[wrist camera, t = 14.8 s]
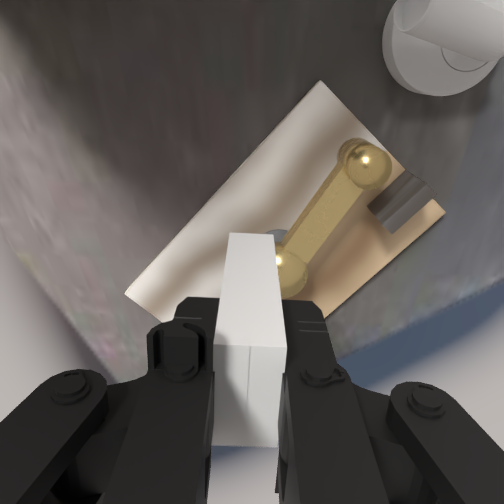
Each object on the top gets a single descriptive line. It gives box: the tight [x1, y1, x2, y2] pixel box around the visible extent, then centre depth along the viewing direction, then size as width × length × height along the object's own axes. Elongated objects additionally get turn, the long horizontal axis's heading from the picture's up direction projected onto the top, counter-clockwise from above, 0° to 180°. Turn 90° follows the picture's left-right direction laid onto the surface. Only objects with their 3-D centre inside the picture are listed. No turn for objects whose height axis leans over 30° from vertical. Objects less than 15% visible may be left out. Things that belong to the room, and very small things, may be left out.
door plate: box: [125, 80, 446, 323], centre depth 38 cm, size 16×26×6 cm, turn 137°
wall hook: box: [382, 0, 504, 96], centre depth 30 cm, size 9×10×10 cm
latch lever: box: [274, 137, 392, 298], centre depth 35 cm, size 15×4×5 cm, turn 147°
